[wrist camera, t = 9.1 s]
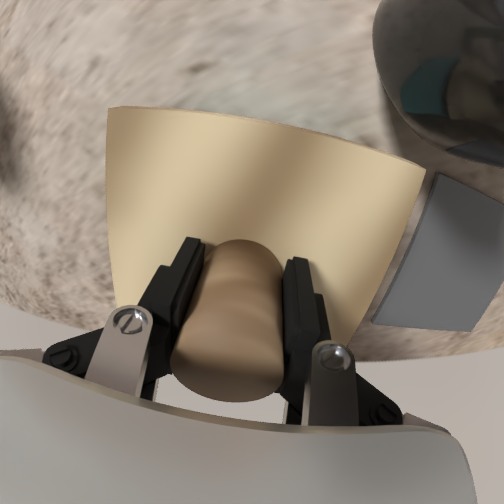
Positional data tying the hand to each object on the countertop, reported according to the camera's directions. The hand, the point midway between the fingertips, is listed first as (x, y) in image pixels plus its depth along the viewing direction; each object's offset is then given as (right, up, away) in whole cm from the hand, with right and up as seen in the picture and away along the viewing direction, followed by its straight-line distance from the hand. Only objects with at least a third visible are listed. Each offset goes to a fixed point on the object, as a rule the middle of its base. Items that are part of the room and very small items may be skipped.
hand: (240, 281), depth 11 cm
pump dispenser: (+11, +13, +1) cm, 17 cm away
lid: (0, +1, +2) cm, 2 cm away
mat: (+18, 0, +8) cm, 20 cm away
